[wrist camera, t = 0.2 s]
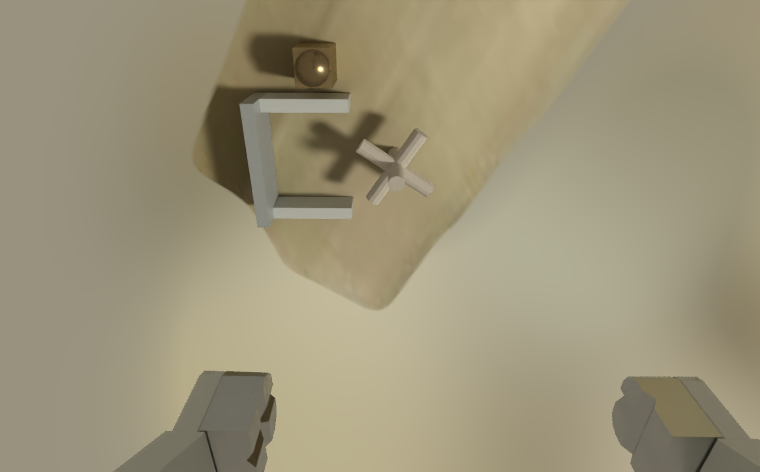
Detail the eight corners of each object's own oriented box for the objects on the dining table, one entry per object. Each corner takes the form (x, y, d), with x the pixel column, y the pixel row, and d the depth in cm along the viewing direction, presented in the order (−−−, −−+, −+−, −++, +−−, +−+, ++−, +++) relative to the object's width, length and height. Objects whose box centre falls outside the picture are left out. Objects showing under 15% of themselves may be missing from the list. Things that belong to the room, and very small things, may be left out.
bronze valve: (300, 42, 51) (290, 48, 45) (335, 42, 51) (329, 48, 45) (303, 79, 52) (294, 89, 47) (337, 79, 52) (331, 89, 47)
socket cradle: (253, 92, 53) (239, 103, 48) (350, 93, 53) (346, 104, 48) (268, 206, 60) (257, 227, 55) (353, 207, 60) (350, 227, 55)
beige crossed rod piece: (404, 203, 60) (407, 240, 51) (341, 163, 57) (332, 195, 49) (450, 143, 56) (462, 172, 47) (385, 98, 53) (384, 119, 45)
